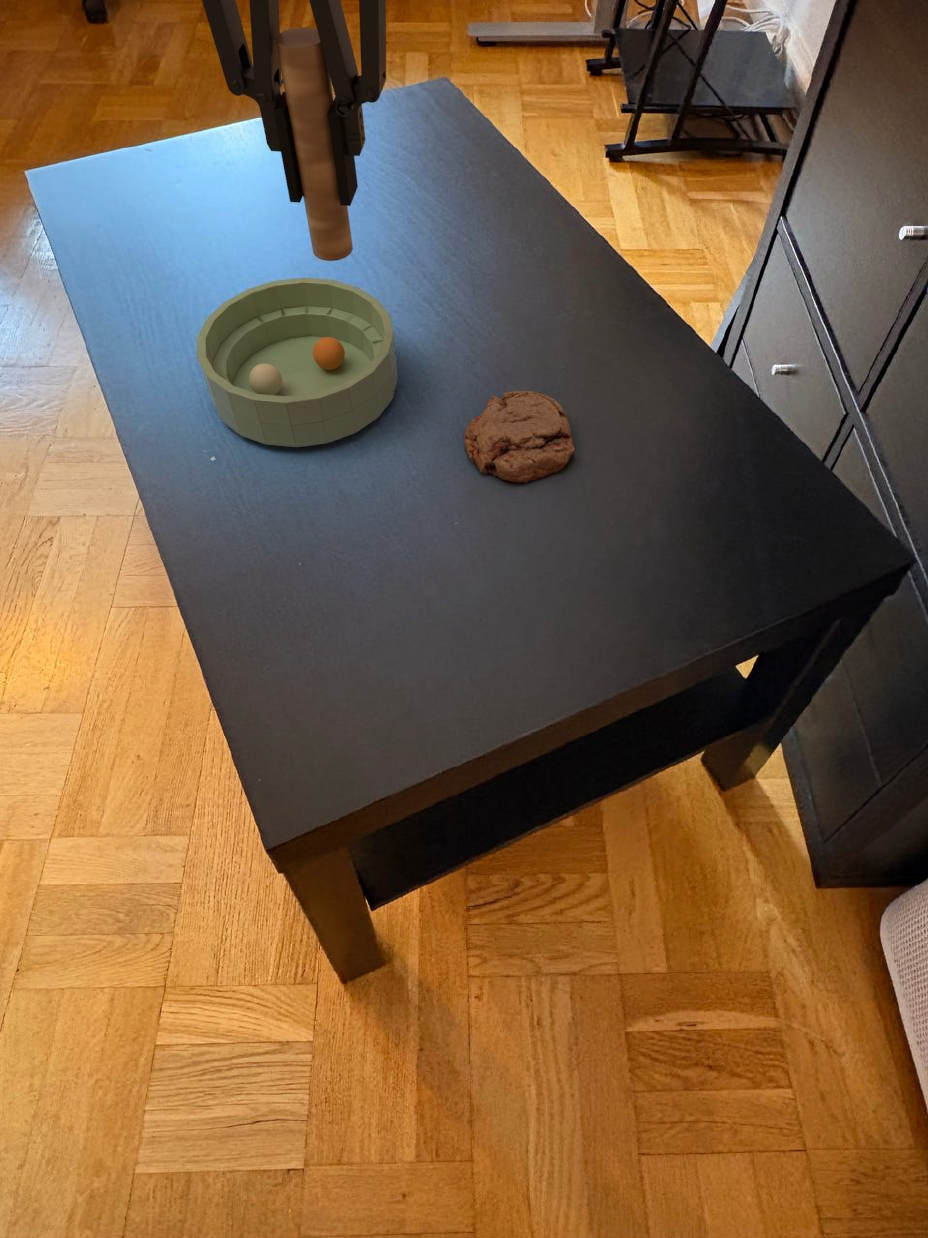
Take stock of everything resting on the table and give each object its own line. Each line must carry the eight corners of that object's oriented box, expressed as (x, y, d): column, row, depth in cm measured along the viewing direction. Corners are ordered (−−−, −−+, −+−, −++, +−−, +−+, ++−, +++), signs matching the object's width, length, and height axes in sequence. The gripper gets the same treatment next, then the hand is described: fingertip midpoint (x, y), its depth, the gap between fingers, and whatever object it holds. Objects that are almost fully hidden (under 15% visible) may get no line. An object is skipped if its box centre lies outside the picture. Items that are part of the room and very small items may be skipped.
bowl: (189, 444, 77) (169, 392, 72) (243, 324, 87) (229, 271, 82) (378, 461, 75) (372, 409, 71) (411, 337, 85) (407, 284, 80)
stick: (308, 259, 67) (270, 46, 54) (318, 236, 69) (282, 25, 56) (348, 262, 66) (318, 48, 54) (356, 239, 68) (329, 27, 56)
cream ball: (249, 402, 79) (241, 376, 76) (257, 381, 81) (250, 355, 78) (280, 404, 79) (274, 379, 76) (288, 383, 80) (282, 357, 78)
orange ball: (312, 375, 81) (307, 349, 79) (319, 355, 83) (314, 329, 80) (343, 377, 81) (338, 351, 78) (349, 357, 82) (345, 331, 80)
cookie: (574, 406, 79) (577, 381, 77) (572, 489, 73) (576, 464, 71) (468, 401, 80) (468, 375, 77) (458, 482, 74) (458, 458, 71)
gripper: (421, -258, 46) (437, 174, 65) (135, -262, 47) (235, 162, 67) (396, -222, 42) (421, 228, 61) (83, -228, 43) (205, 214, 62)
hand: (324, 193), depth 64 cm, fingers closed on stick, 3 cm apart
